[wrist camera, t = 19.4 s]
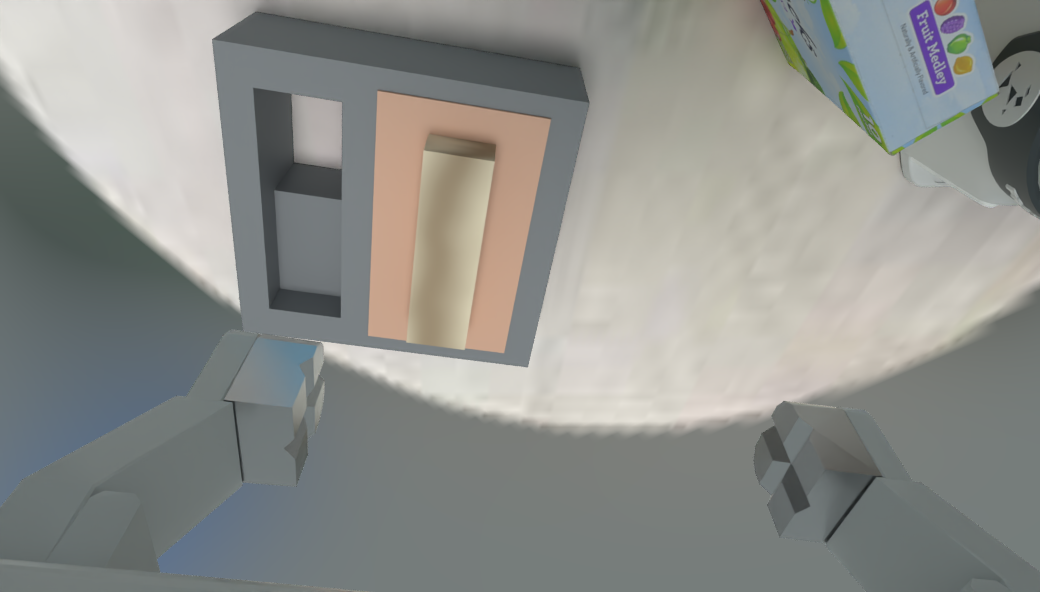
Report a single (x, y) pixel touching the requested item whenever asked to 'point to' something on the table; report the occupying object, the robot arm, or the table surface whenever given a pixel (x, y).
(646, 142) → the table surface
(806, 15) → the snack box
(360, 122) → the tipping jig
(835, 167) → the table surface
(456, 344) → the maple bar
